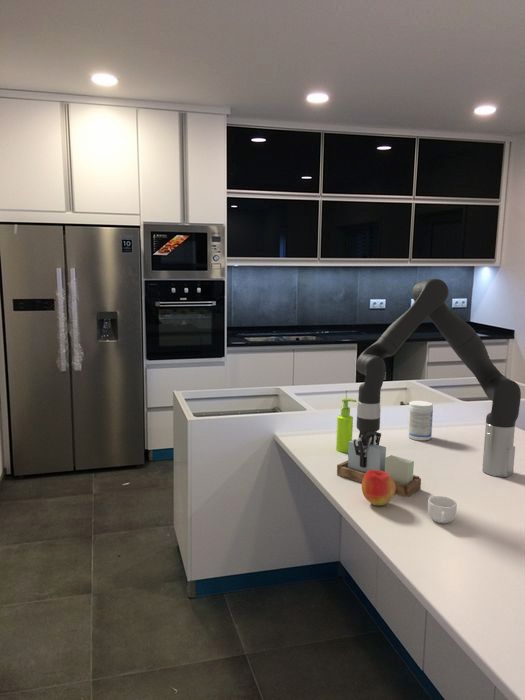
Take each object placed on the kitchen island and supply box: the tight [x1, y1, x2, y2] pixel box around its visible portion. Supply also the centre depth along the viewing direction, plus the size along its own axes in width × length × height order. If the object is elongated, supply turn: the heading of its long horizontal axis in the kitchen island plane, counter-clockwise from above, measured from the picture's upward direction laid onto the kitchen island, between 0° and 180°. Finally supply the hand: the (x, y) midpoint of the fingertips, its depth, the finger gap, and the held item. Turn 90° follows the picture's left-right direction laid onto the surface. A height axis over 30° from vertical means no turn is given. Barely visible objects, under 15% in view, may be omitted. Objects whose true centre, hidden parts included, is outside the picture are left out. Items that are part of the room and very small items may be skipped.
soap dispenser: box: [335, 398, 357, 453], centre depth 216 cm, size 6×7×20 cm
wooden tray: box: [336, 459, 422, 498], centre depth 185 cm, size 26×8×4 cm, turn 48°
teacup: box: [427, 495, 457, 524], centre depth 157 cm, size 10×8×5 cm
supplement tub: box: [407, 400, 434, 442], centre depth 234 cm, size 10×10×15 cm
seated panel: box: [385, 454, 415, 485], centre depth 180 cm, size 8×4×9 cm, turn 48°
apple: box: [361, 470, 396, 507], centre depth 168 cm, size 10×10×10 cm
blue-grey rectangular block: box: [347, 439, 387, 473], centre depth 188 cm, size 12×4×9 cm, turn 48°
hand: (366, 465), depth 188 cm, fingers closed on blue-grey rectangular block, 3 cm apart
